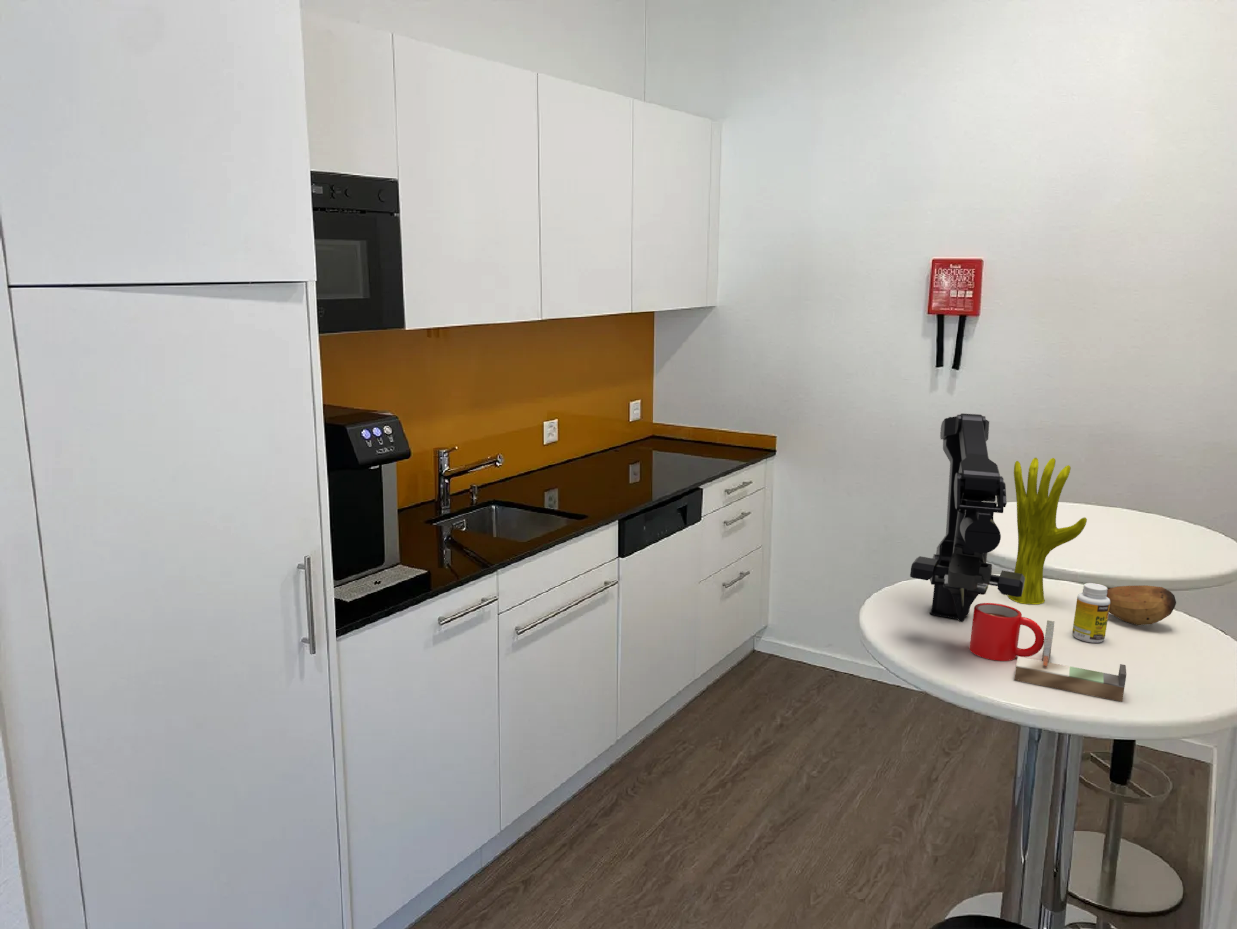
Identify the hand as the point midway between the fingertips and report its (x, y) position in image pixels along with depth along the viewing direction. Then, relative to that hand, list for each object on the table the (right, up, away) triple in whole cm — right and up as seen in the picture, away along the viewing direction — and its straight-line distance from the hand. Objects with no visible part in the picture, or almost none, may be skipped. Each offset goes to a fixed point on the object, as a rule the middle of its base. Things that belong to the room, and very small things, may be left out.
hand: (961, 621), depth 172 cm
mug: (+7, -6, -2) cm, 9 cm away
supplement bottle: (+26, -5, +7) cm, 28 cm away
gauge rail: (+12, -8, -15) cm, 21 cm away
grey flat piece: (+12, -6, -8) cm, 15 cm away
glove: (+25, 0, +27) cm, 37 cm away
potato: (+40, -3, +16) cm, 43 cm away
